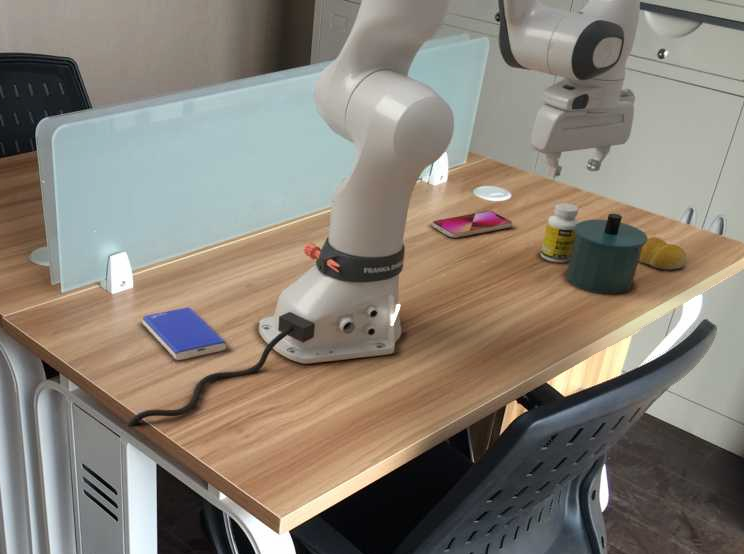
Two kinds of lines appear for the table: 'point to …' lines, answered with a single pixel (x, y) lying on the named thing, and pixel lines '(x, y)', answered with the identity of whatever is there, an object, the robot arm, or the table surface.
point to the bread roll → (662, 254)
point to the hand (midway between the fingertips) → (573, 173)
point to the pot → (602, 267)
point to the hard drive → (183, 333)
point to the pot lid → (611, 233)
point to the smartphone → (471, 224)
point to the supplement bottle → (560, 234)
